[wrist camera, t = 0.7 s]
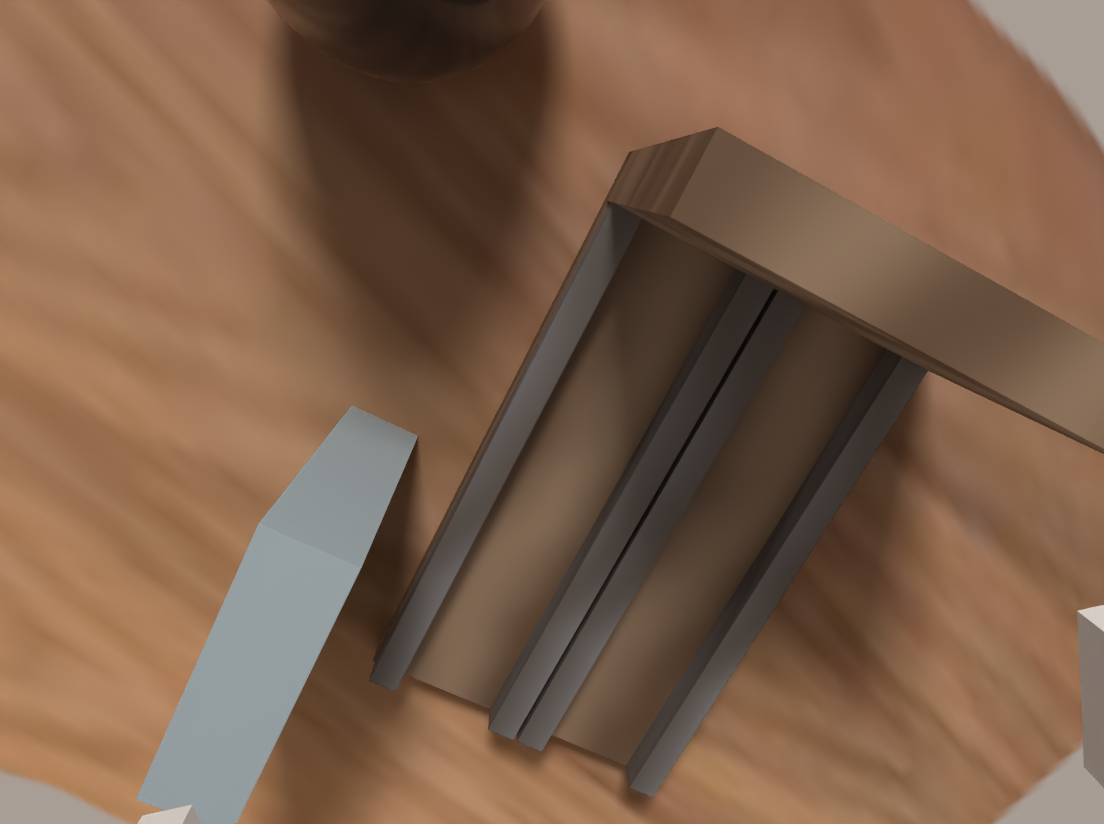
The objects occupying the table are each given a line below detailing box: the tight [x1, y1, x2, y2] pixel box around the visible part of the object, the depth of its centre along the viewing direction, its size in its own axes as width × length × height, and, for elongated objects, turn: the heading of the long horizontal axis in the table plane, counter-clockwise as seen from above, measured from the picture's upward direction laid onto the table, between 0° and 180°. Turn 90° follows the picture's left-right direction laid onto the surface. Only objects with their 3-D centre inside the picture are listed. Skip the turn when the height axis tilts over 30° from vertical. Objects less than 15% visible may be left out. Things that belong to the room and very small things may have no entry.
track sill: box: [369, 127, 1104, 797], centre depth 27 cm, size 14×24×15 cm, turn 153°
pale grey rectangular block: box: [136, 406, 418, 824], centre depth 29 cm, size 3×10×12 cm, turn 153°
